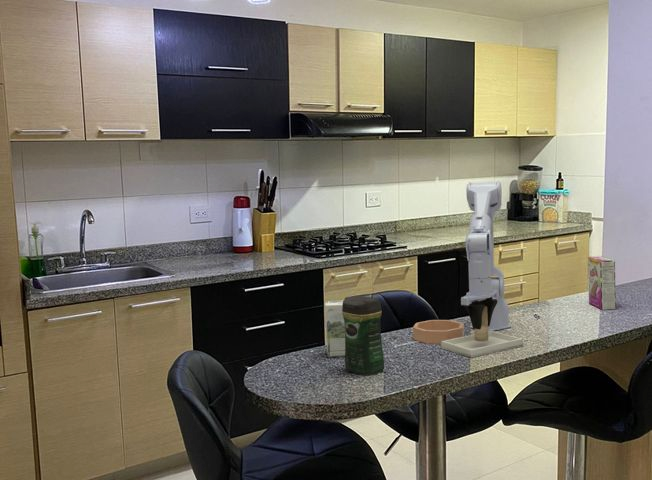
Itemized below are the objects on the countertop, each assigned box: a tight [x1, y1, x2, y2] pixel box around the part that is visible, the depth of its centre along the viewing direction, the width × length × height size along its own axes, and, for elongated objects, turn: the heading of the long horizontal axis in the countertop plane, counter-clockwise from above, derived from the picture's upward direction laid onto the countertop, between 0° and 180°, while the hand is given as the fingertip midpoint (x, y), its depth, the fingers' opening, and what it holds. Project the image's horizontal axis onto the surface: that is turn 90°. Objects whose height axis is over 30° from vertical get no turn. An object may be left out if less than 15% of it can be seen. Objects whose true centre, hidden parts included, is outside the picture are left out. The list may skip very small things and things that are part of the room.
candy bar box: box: [587, 255, 617, 311], centre depth 215 cm, size 11×5×16 cm, turn 179°
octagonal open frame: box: [412, 319, 465, 345], centre depth 187 cm, size 14×14×4 cm
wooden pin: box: [473, 306, 488, 341], centre depth 174 cm, size 4×4×9 cm
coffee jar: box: [342, 295, 385, 376], centre depth 158 cm, size 10×8×19 cm
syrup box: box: [324, 299, 345, 358], centre depth 174 cm, size 6×6×14 cm
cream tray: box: [441, 330, 524, 359], centre depth 174 cm, size 18×12×2 cm, turn 118°
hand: (481, 327), depth 174 cm, fingers closed on wooden pin, 3 cm apart
